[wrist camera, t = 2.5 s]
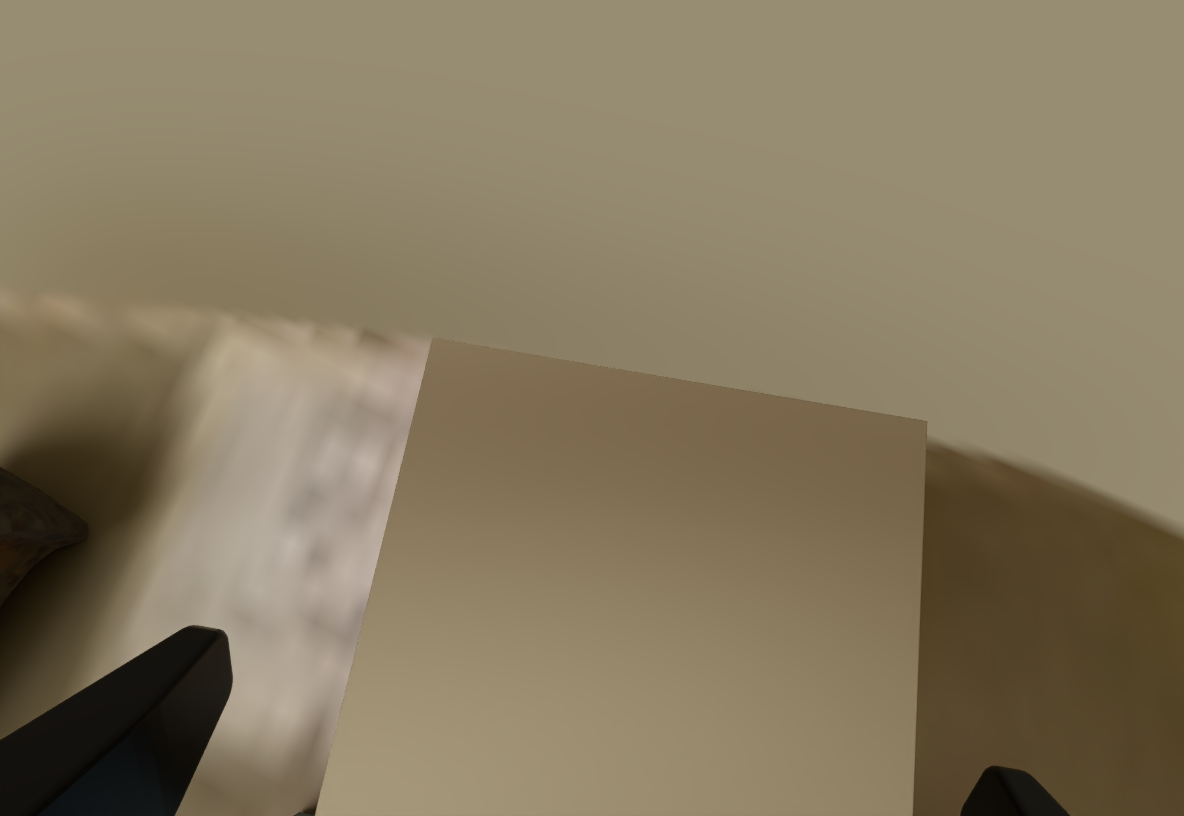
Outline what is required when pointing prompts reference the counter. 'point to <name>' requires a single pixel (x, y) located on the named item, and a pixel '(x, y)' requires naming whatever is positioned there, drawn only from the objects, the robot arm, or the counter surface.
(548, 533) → the beige pillar on base
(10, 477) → the hand tool
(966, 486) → the counter surface
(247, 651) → the counter surface
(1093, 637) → the counter surface
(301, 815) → the tray
